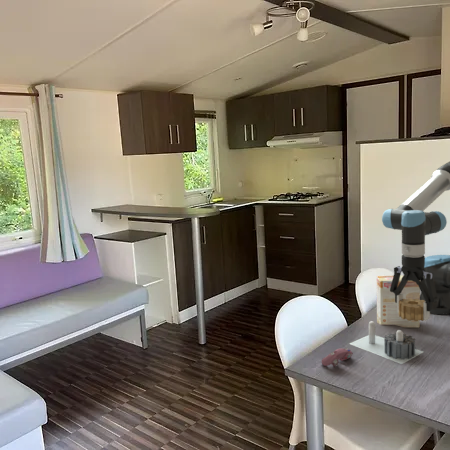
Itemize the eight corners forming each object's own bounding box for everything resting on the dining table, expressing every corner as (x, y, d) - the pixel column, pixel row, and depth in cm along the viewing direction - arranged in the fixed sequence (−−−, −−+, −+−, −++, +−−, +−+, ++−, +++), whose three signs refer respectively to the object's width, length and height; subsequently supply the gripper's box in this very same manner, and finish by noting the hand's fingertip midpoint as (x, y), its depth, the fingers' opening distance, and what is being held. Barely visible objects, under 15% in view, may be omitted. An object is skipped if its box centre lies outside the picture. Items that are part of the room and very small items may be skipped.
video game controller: (327, 373, 149) (333, 359, 146) (319, 362, 153) (325, 348, 149) (350, 365, 154) (356, 351, 150) (341, 355, 157) (348, 341, 153)
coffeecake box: (414, 321, 184) (415, 274, 181) (420, 328, 177) (420, 279, 174) (376, 321, 186) (376, 275, 183) (380, 328, 179) (380, 280, 176)
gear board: (371, 337, 171) (371, 313, 169) (424, 356, 154) (424, 329, 153) (348, 347, 164) (348, 322, 162) (401, 368, 147) (402, 340, 145)
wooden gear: (408, 309, 170) (408, 296, 169) (433, 315, 162) (433, 302, 161) (393, 316, 164) (393, 303, 164) (418, 323, 157) (418, 309, 156)
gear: (395, 344, 161) (395, 330, 160) (420, 353, 153) (421, 339, 152) (378, 352, 155) (378, 338, 154) (404, 362, 148) (404, 347, 147)
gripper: (379, 252, 166) (379, 310, 170) (438, 262, 148) (437, 327, 152) (391, 248, 170) (391, 305, 174) (450, 257, 153) (449, 320, 156)
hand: (412, 315), depth 163 cm, fingers closed on wooden gear, 10 cm apart
